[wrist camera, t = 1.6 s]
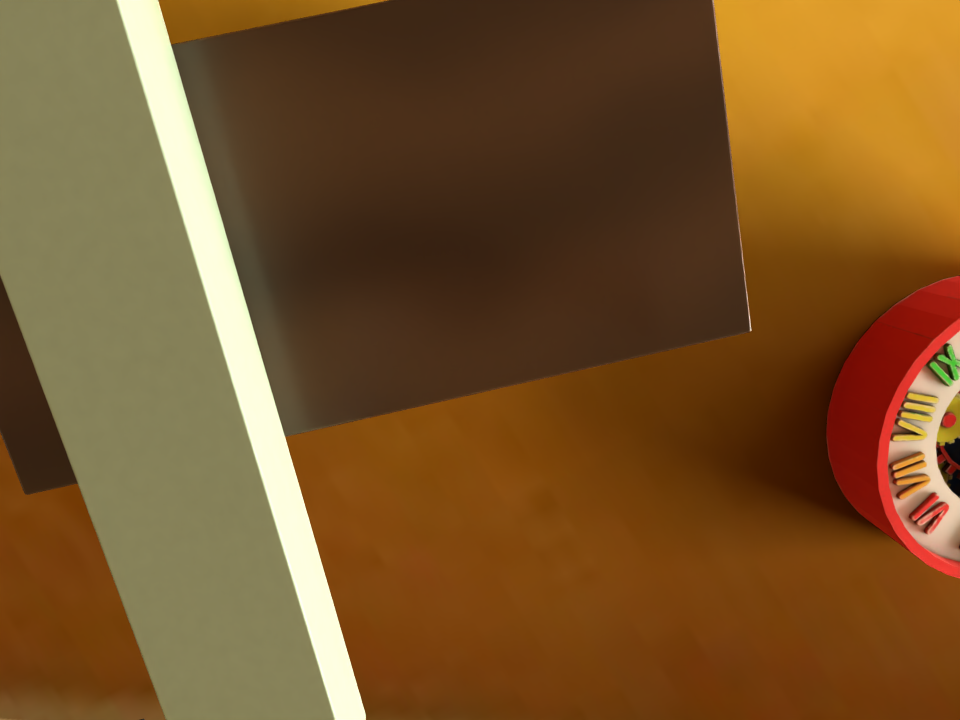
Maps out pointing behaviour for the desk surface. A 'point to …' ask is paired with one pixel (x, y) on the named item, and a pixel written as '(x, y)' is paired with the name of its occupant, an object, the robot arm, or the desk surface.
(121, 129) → the pencil tin
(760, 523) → the desk surface
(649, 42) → the shelf stand
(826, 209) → the desk surface
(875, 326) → the toy clock
